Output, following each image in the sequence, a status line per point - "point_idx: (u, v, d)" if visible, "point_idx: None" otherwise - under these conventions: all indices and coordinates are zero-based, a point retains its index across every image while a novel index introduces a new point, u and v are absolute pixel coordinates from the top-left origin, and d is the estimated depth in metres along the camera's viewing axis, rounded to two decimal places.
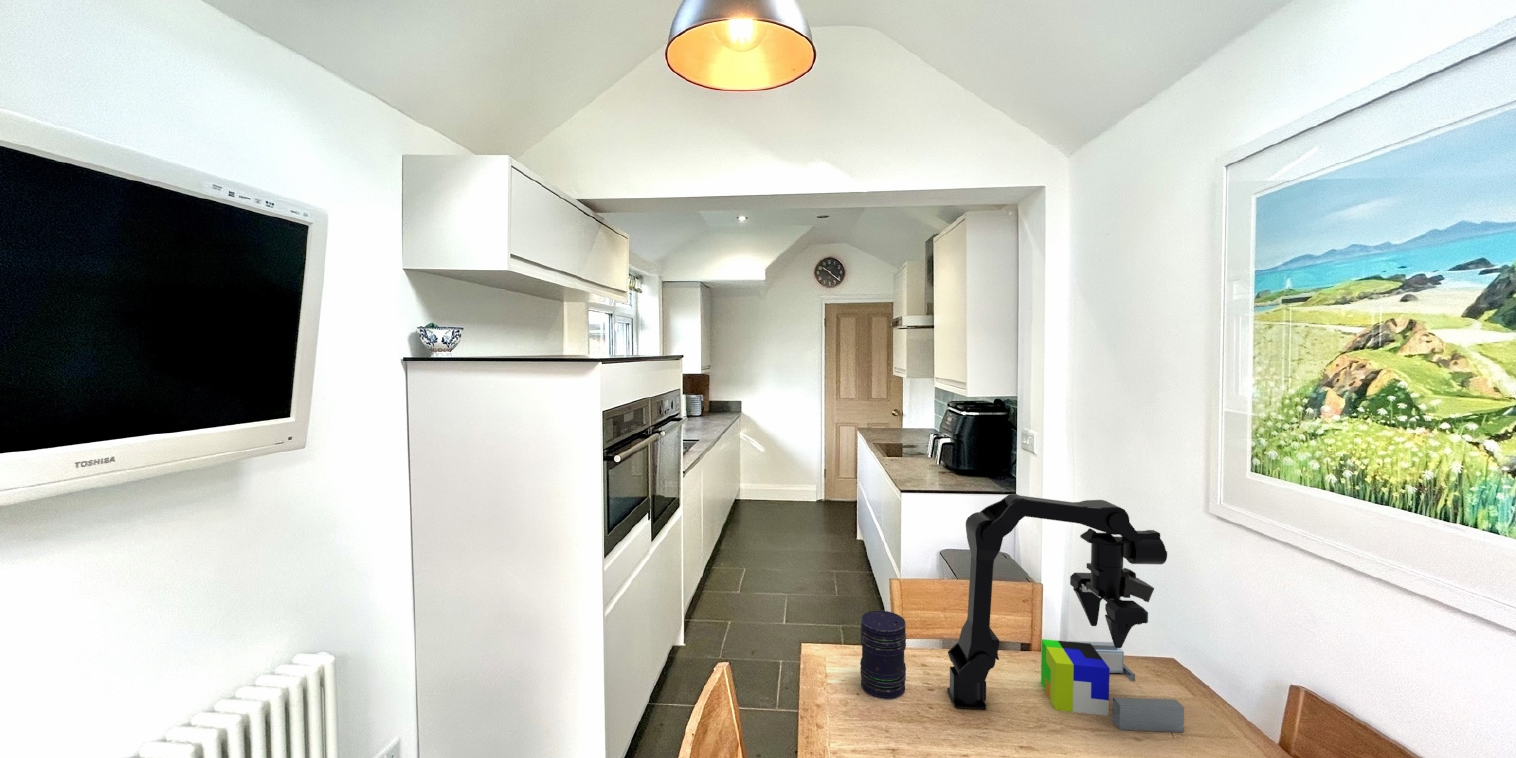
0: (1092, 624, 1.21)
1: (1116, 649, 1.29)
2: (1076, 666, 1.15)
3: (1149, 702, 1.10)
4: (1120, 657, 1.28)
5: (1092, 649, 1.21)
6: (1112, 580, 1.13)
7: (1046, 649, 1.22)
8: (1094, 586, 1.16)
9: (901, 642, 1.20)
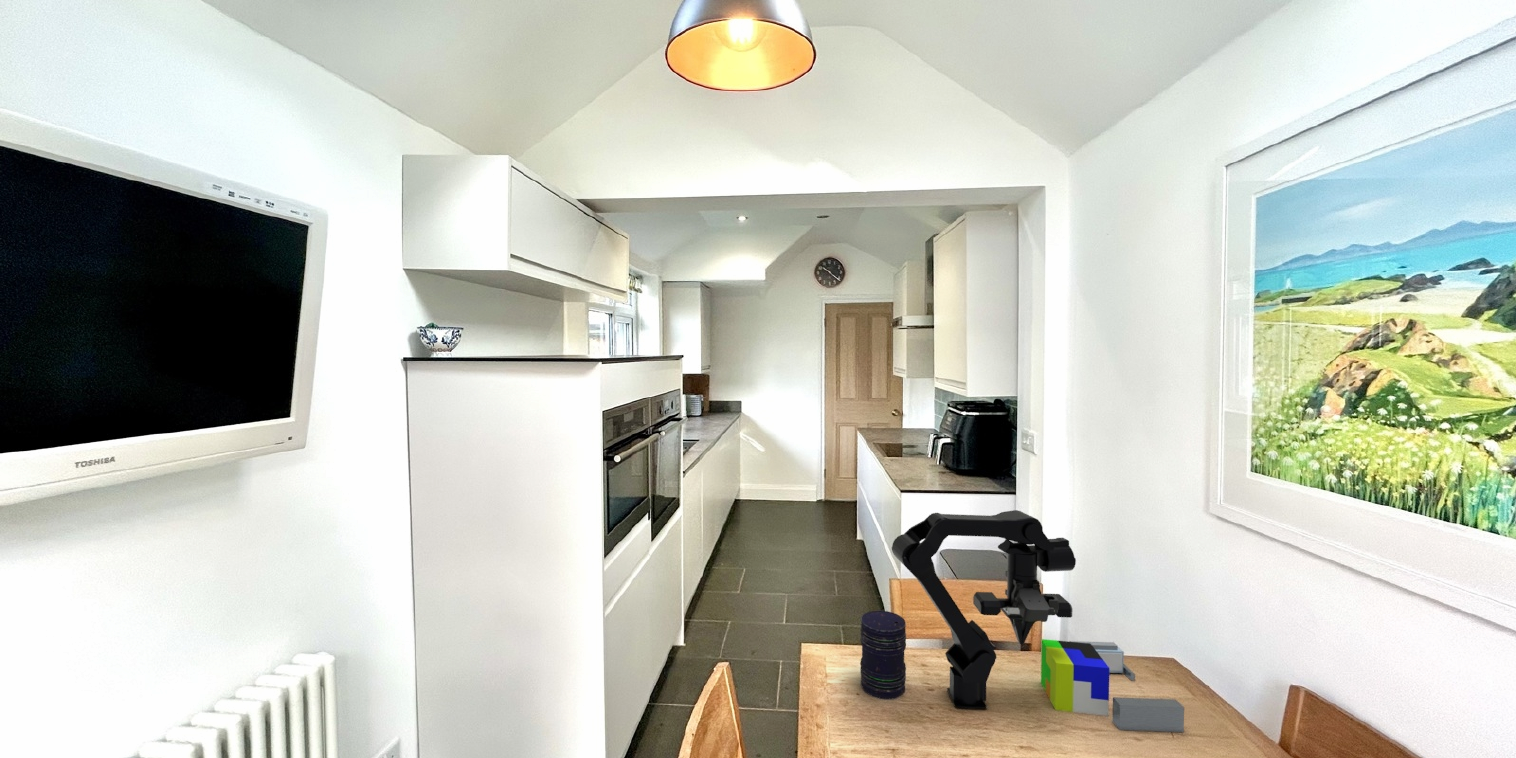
0: None
1: (1116, 649, 1.29)
2: (1076, 666, 1.15)
3: (1149, 702, 1.10)
4: (1120, 657, 1.28)
5: (1092, 649, 1.21)
6: (1007, 582, 1.20)
7: (1046, 649, 1.22)
8: None
9: (901, 642, 1.20)
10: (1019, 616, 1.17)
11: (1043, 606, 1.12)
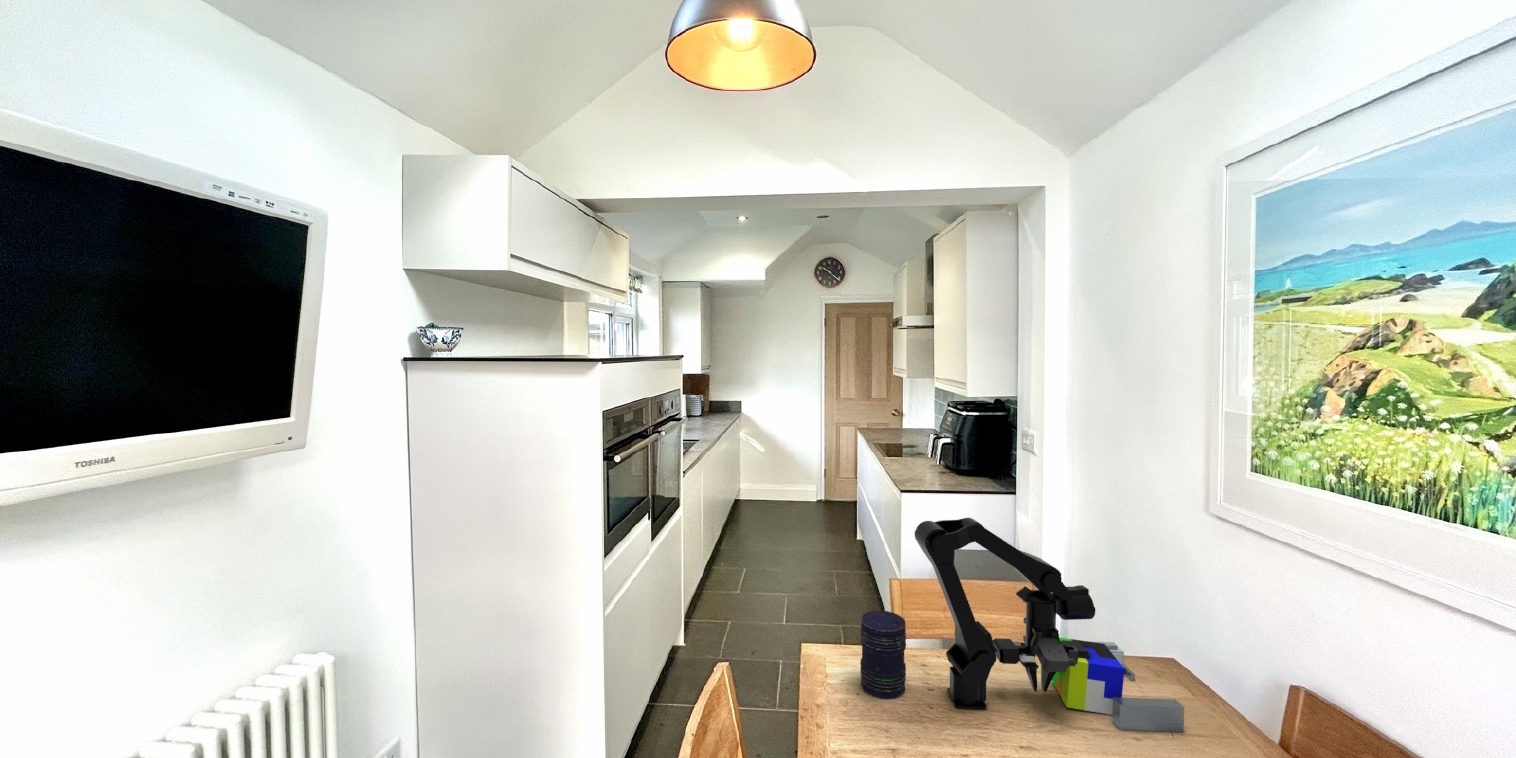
0: (1042, 688, 1.20)
1: (1116, 649, 1.29)
2: (1091, 664, 1.14)
3: (1149, 702, 1.10)
4: (1120, 657, 1.28)
5: (1106, 649, 1.20)
6: (1026, 629, 1.20)
7: None
8: None
9: (901, 642, 1.20)
10: (1034, 664, 1.17)
11: (1063, 657, 1.12)
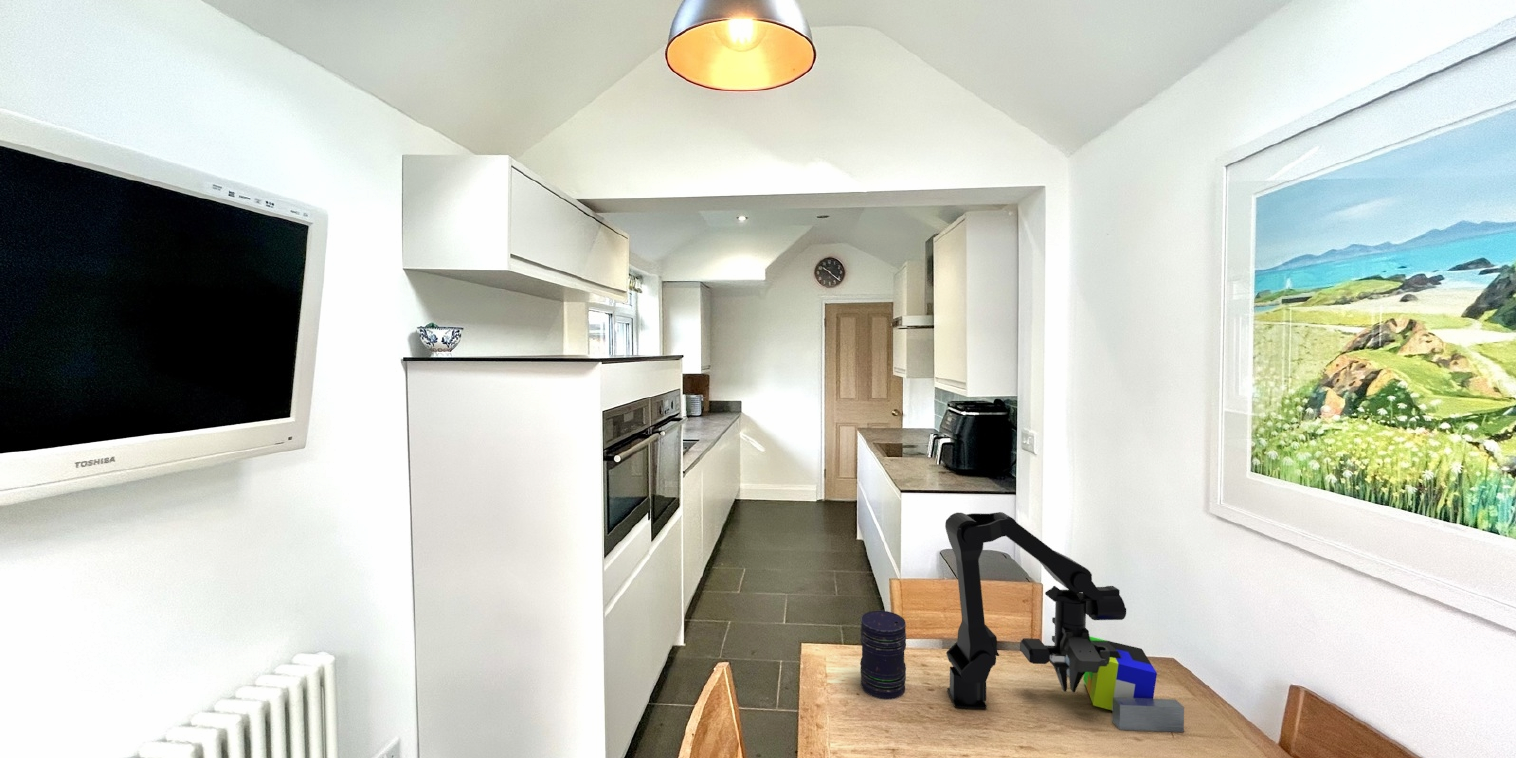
0: (1071, 688, 1.20)
1: None
2: (1121, 665, 1.13)
3: (1149, 702, 1.10)
4: None
5: (1142, 653, 1.18)
6: (1055, 629, 1.20)
7: None
8: None
9: (901, 642, 1.20)
10: (1065, 664, 1.17)
11: (1094, 657, 1.12)
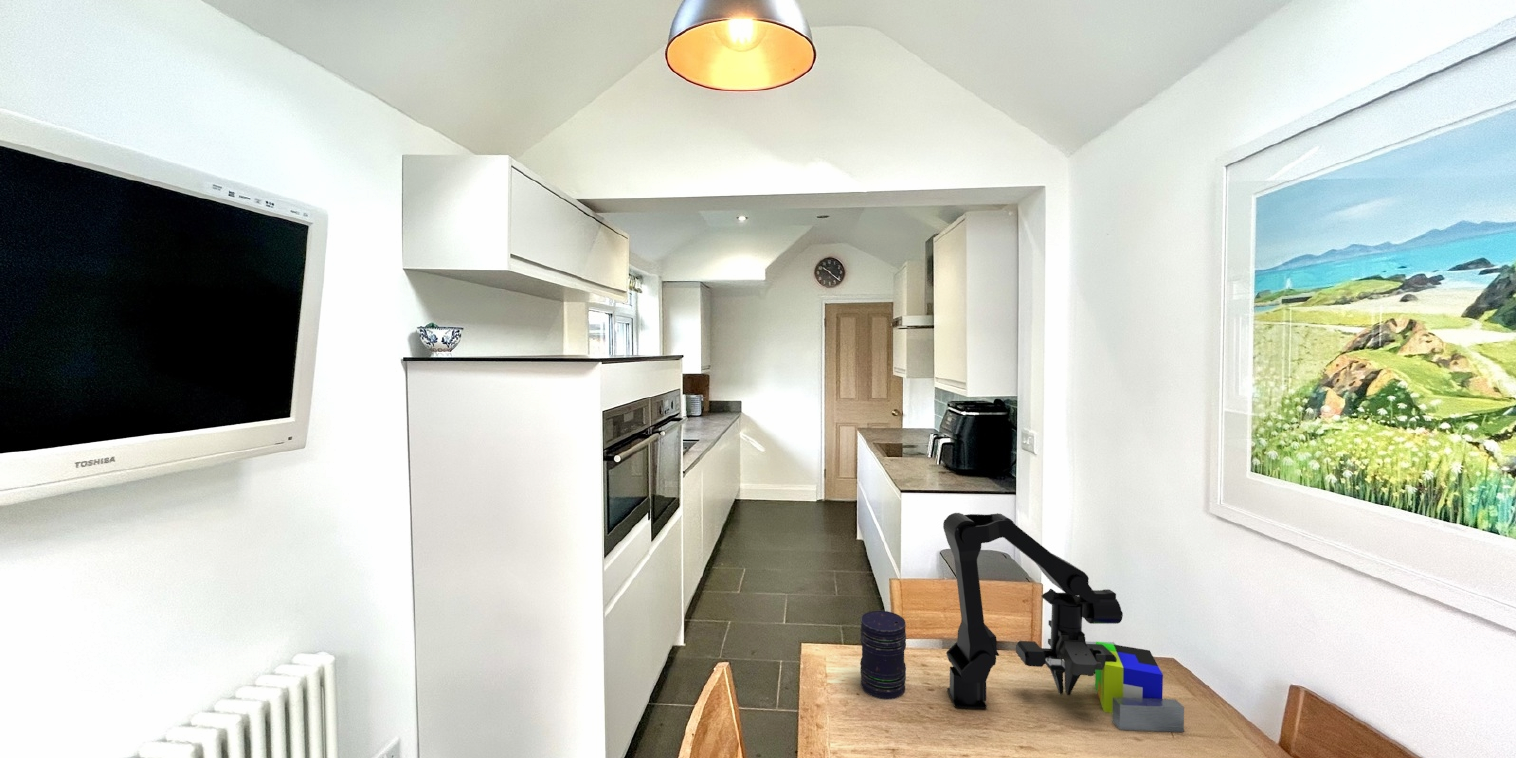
0: (1065, 691, 1.20)
1: None
2: (1126, 669, 1.13)
3: (1149, 702, 1.10)
4: None
5: (1149, 655, 1.18)
6: (1051, 632, 1.20)
7: None
8: None
9: (901, 642, 1.20)
10: (1061, 667, 1.17)
11: (1090, 660, 1.12)
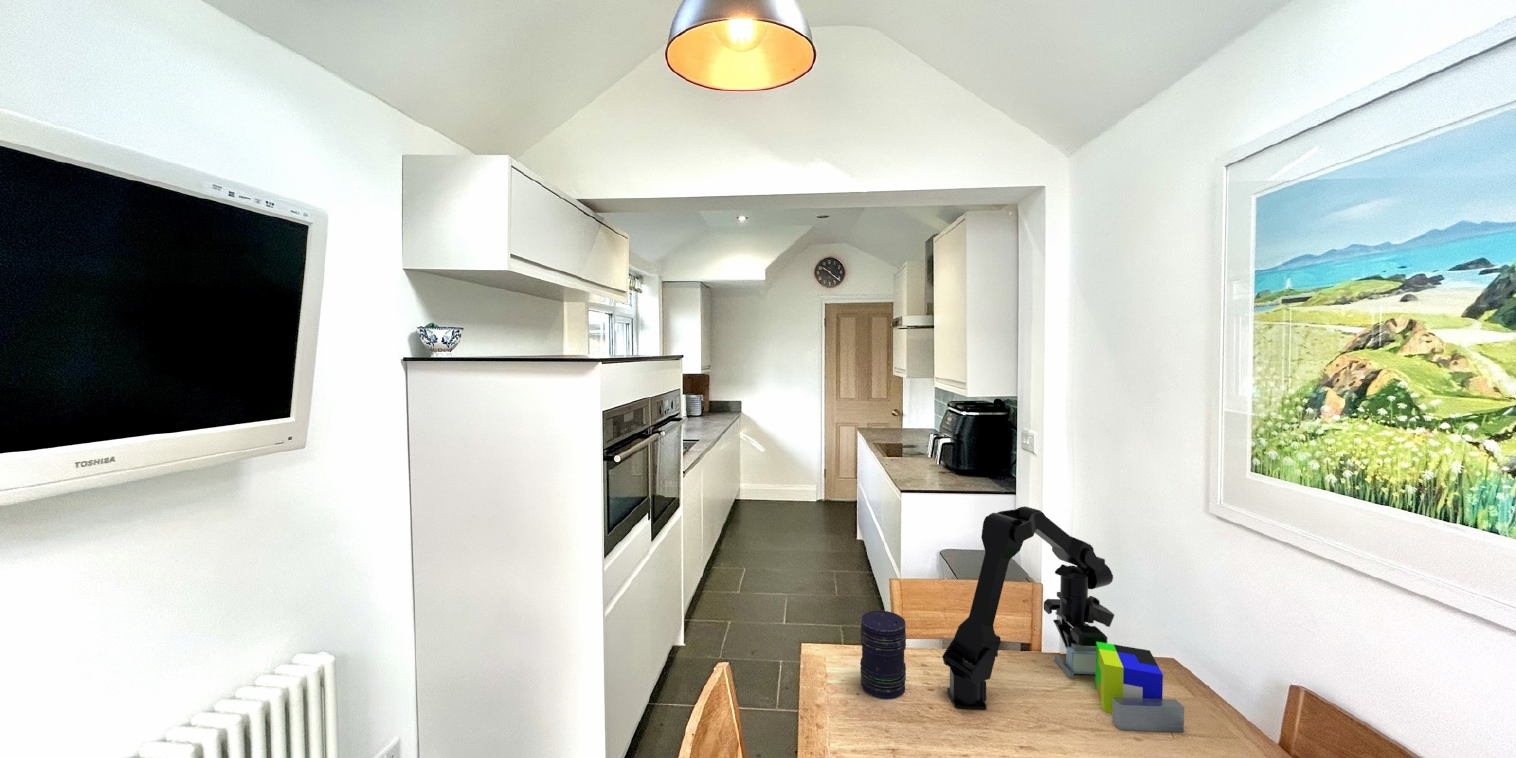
0: None
1: None
2: (1126, 669, 1.13)
3: (1149, 702, 1.10)
4: None
5: (1149, 655, 1.18)
6: (1078, 607, 1.30)
7: (1098, 651, 1.21)
8: (1063, 613, 1.33)
9: (901, 642, 1.20)
10: None
11: (1103, 607, 1.34)
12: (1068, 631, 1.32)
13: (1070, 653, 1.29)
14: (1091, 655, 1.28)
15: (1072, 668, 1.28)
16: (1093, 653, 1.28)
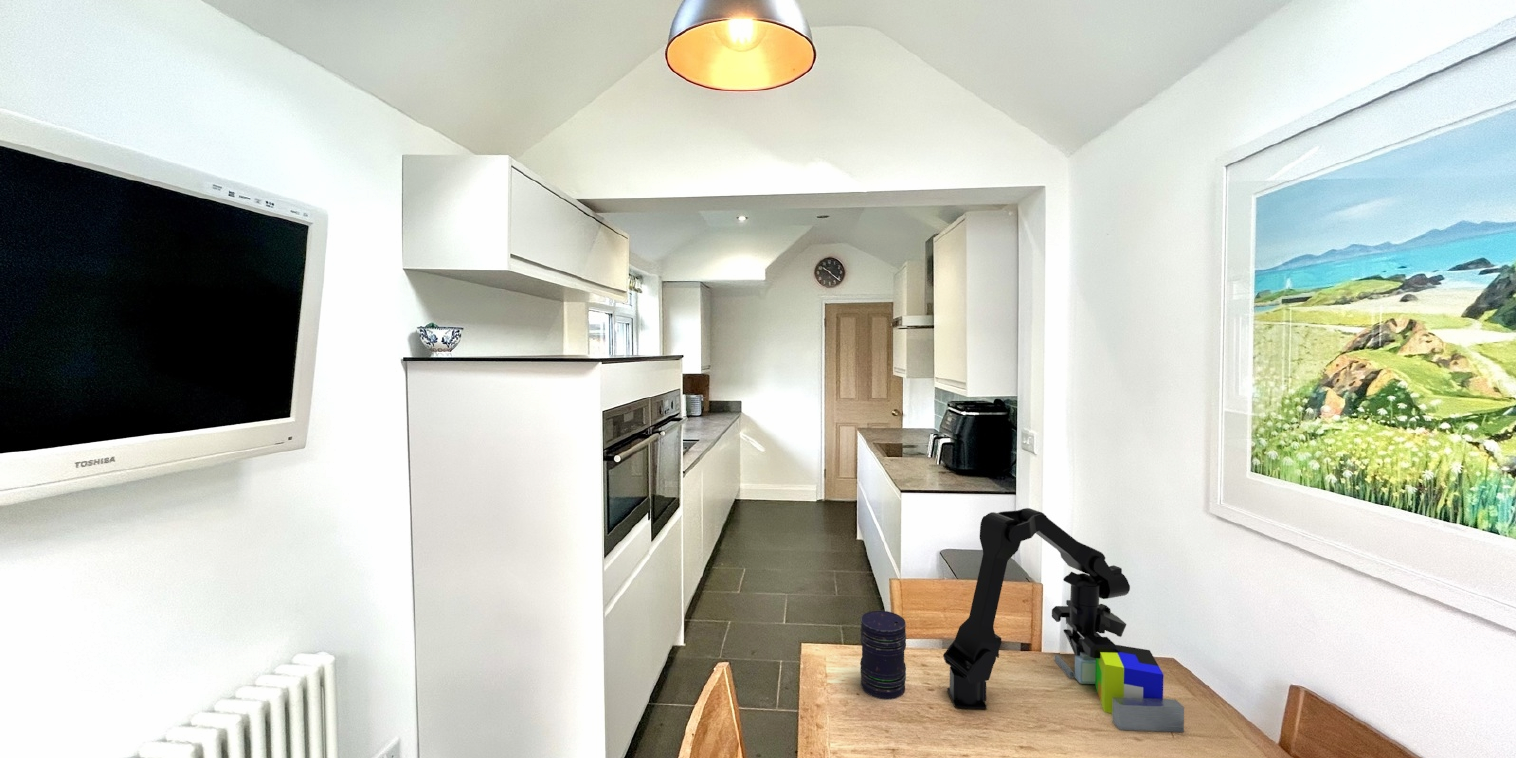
0: None
1: None
2: (1127, 669, 1.13)
3: (1149, 702, 1.10)
4: None
5: (1149, 655, 1.18)
6: (1088, 617, 1.25)
7: None
8: (1073, 622, 1.28)
9: (901, 642, 1.20)
10: None
11: (1114, 616, 1.29)
12: (1077, 640, 1.28)
13: (1079, 662, 1.25)
14: None
15: (1081, 678, 1.24)
16: None
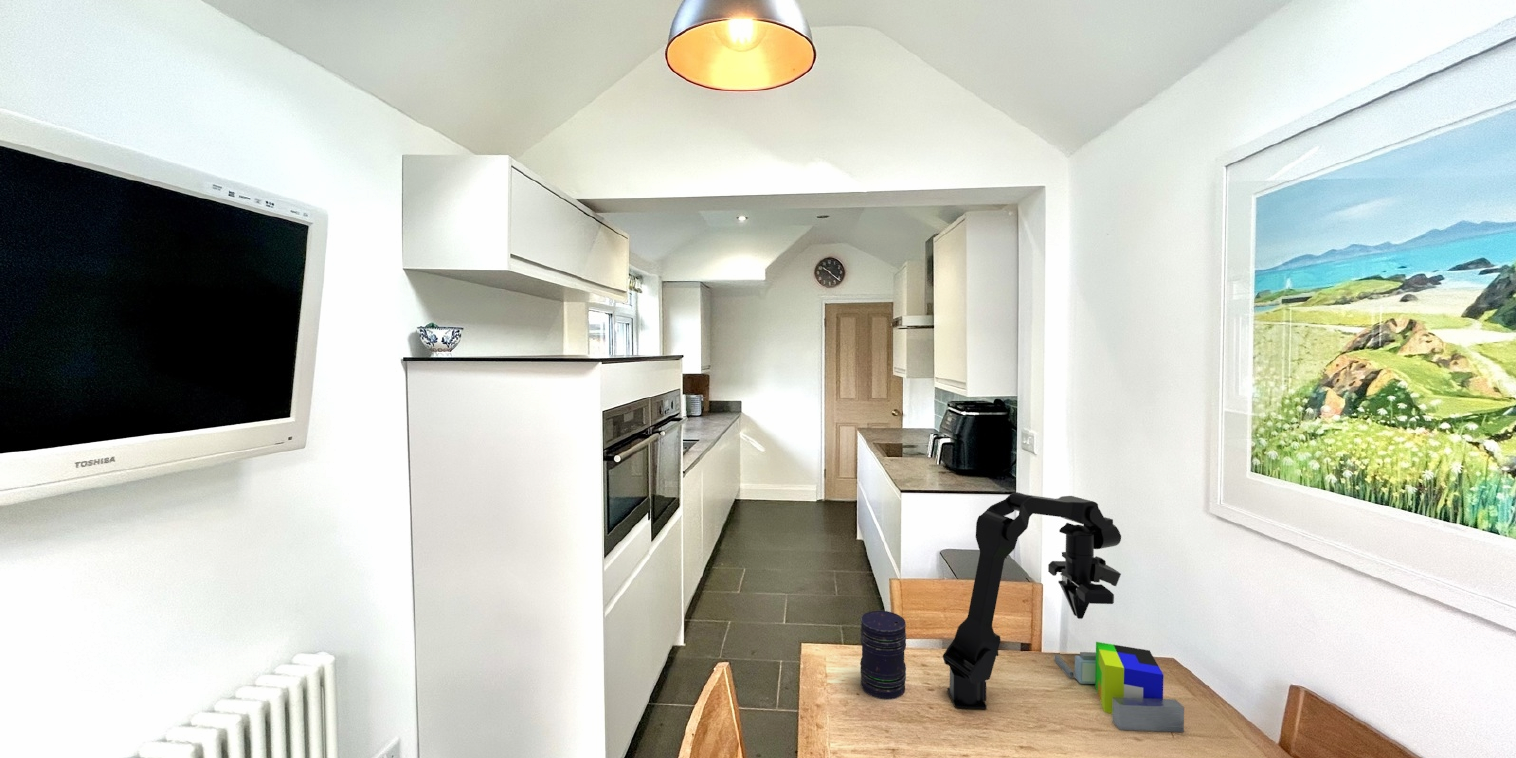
0: (1075, 614, 1.32)
1: None
2: (1127, 670, 1.13)
3: (1149, 702, 1.10)
4: None
5: (1149, 655, 1.18)
6: (1083, 566, 1.28)
7: (1099, 651, 1.21)
8: (1068, 572, 1.30)
9: (901, 642, 1.20)
10: None
11: (1109, 567, 1.31)
12: (1074, 591, 1.29)
13: (1079, 662, 1.25)
14: None
15: (1081, 678, 1.24)
16: None
